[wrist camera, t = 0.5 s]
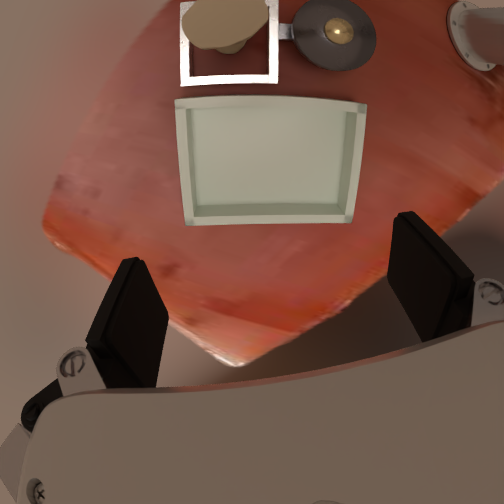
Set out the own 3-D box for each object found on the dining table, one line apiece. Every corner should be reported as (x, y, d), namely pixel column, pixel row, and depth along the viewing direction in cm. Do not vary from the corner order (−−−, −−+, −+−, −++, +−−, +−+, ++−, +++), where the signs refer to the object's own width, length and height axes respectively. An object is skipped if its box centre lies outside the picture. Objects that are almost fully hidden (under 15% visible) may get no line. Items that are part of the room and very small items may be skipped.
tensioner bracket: (351, 16, 26) (379, 4, 19) (350, 90, 32) (377, 94, 25) (184, 8, 25) (171, -10, 18) (185, 86, 31) (171, 87, 24)
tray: (353, 101, 32) (367, 104, 29) (341, 208, 41) (351, 223, 37) (181, 97, 31) (174, 99, 28) (190, 210, 40) (185, 225, 36)
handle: (197, 39, 27) (171, 12, 15) (244, 17, 26) (250, -22, 13) (214, 69, 30) (199, 60, 17) (262, 48, 28) (279, 25, 16)
